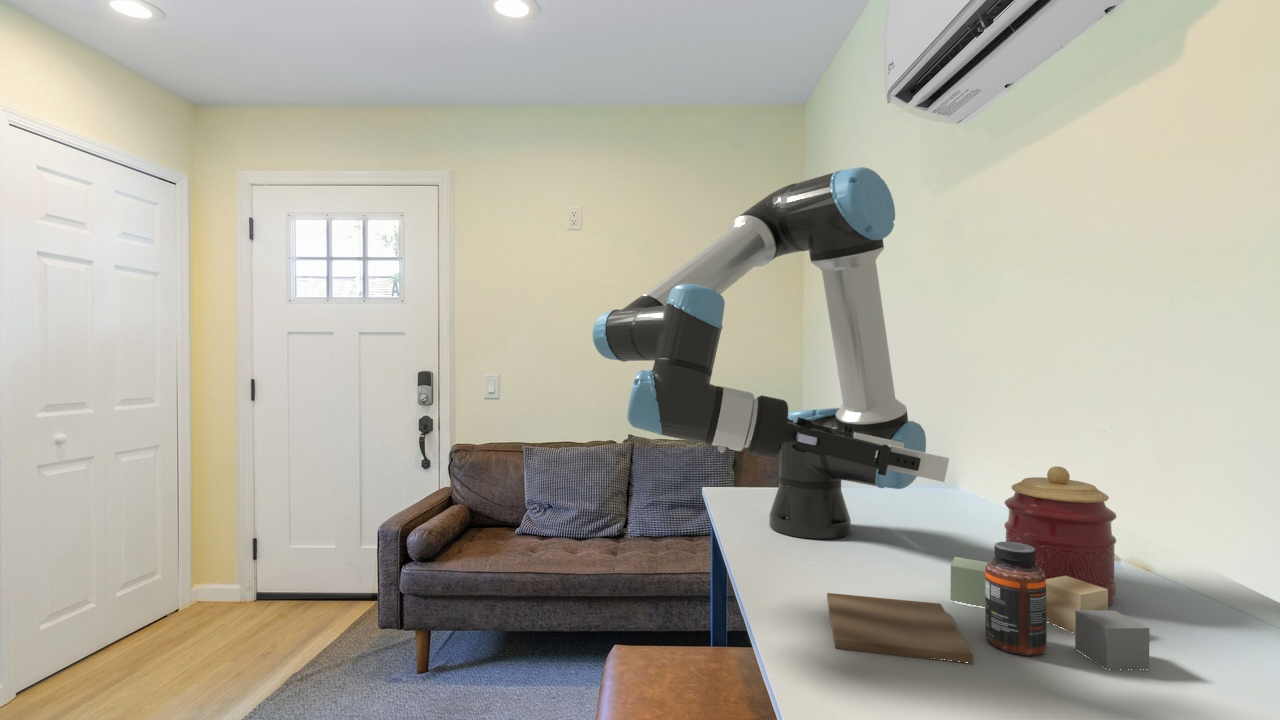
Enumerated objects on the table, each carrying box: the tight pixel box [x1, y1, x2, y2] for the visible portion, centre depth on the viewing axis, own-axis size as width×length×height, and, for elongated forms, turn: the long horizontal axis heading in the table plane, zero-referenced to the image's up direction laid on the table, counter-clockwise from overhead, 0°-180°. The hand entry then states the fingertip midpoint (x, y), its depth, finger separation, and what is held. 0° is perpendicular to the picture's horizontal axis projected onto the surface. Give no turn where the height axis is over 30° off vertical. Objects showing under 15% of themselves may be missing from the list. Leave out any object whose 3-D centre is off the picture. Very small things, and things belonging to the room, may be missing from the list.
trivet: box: [826, 592, 974, 664], centre depth 72 cm, size 14×14×1 cm
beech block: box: [1046, 576, 1109, 634], centre depth 74 cm, size 5×5×5 cm
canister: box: [1004, 466, 1117, 606], centre depth 85 cm, size 13×13×18 cm
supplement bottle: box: [984, 541, 1048, 656], centre depth 68 cm, size 6×6×11 cm
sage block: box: [950, 556, 989, 607], centre depth 81 cm, size 4×4×5 cm
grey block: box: [1074, 610, 1150, 671], centre depth 65 cm, size 4×4×4 cm
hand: (921, 460), depth 74 cm, fingers open, 13 cm apart
